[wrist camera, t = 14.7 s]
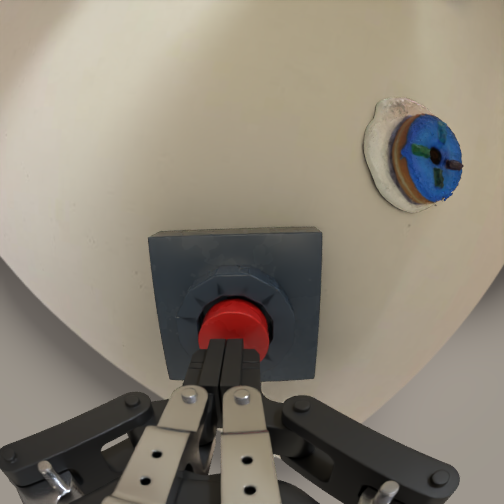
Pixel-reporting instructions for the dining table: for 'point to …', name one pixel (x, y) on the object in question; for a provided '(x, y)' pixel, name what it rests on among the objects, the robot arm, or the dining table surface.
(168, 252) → the button box
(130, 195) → the dining table surface
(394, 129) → the dessert
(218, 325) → the button
